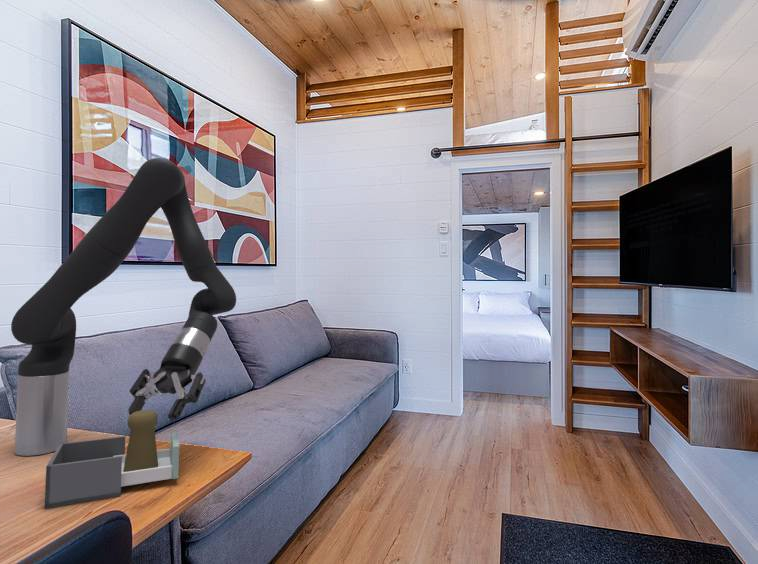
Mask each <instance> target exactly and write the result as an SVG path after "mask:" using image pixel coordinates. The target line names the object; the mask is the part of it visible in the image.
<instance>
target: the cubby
mask: <svg viewBox="0 0 758 564" xmlns="http://www.w3.org/2000/svg"><path fill="white" fill-rule="evenodd" d="M124 454H126V435H123V436H121V435H120V436H113V437H105V438H95V439H88V440H85V439H84V440H77V441H71V442H69V441H67V442H66V443H60V444H59V446H58V448H57V449H56V451H54V453H53V455H52V457H50V459H49V461H48V463H47V465H46V467H45V468H46V469H45V487H44V490H45V491H44V510H46V509H54V508H59V507H66V506H71V505H78V504H82V503H88V502H95V501H99V500H108V499H112V498H118V497H121V493H122V487H123V486H122V487H121V471H122V456H116V455H124ZM113 456H115V457H113Z"/></svg>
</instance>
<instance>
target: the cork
mask: <svg viewBox="0 0 758 564" xmlns="http://www.w3.org/2000/svg"><path fill="white" fill-rule="evenodd" d="M158 420H159V419H158V413H157V412H156V411H154V410H153V409H141V411H136V412H134V413H132V414H131V415H129V416H128V418H127V427H128V429H129V430H130V431H129V437H128V442H127V448H126V452H125V454H126V458H125V464H124V469H123V472H129V471H135V470H142V469H149V468H156V467H158V458H157V450H158V449H157V441H156V432H155V431H156V429H155V427H156V426H157V424H158Z"/></svg>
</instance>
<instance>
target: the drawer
mask: <svg viewBox="0 0 758 564" xmlns="http://www.w3.org/2000/svg"><path fill="white" fill-rule="evenodd" d="M177 431H178V430H177V429H171V432H170V448H164V449H157V458H158V467H156V468H149V469H142V470H135V471H129V472H123V469H124V464H125V458H126V453H125V454H124V455H116V456H122V471H121V487H127V486H135V485H139V484H145V483H152V482H158V481H163V480H164V481H165V480H174V479H179V466H180V465H179V464H180V442H179V437H178V432H177ZM113 457H115V456H113Z"/></svg>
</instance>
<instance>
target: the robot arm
mask: <svg viewBox="0 0 758 564" xmlns="http://www.w3.org/2000/svg"><path fill="white" fill-rule="evenodd" d="M185 179H186V178H185V174H184V173H183V171H182V170H181V168H180V167H179V166H178V165H177V164H176V163H174V161H171V160H170V159H167V158H164V157H155V158H154V157H153V158H151V159H148V160H147V161H145V162H144V163H142V165H141V166H140V167H139V168H138V170H137V172H136V174H135V175H134V177H133V178H132V179H131V181H130V182H129V184H128V186H127V188H126V189H125V190H124V192H123V193H122V195H121V196H120V198H118V200H117V201H116V202H115V203H114V204H113V205H112V206H111V207H110V208H109V209H108V210H107V211H106V212H105V213H104V215H102V216H101V218H99V220H98V221H97V222H96V223H95V224H94V225H93V226H92V227H91V228H90V229H89V231H87V233H86V234H85V235H84V237H82V239H81V240H80V241H79V242H78V244H77V245H76V246H75V248H73V250H72V251H71V253H70V254H69V255H68V257H67V258H66V259H65V260H64V261H63V262H62V264H61V265H60V266H59V267H58V268H57V270H55V272H54V274H53V275H51V277H50V278H49V279H48V280H47V281H46V283H44V284H43V285H42V286H41V287H40V288H39V289H38V290H37V291H36V292H35V293H34V294H33V295H32V296H31V297H30V298H29V299H28V300H27V301H25V303H24V304H23V305H22V306H21V307H19V309H18V310H17V311H16V312H15V314H14V315H13V317H12V321H11V324H10V329H11V334H12V335H13V338H14V339H15V341H16V340H17V342H19V343H21V344H25V345H31V348H30V351H29V352H28V354H27V355H26V356H25V357H24V358H23V359H22V360H21V361H20V362H19V363H18V368H17V370H18V371H17V393H16V414H15V415H16V416H15V432H14V433H15V434H14V437H15V438H14V454H15V455H17V456H21V457H23V456H26V457H27V456H28V457H29V456H38V455H45V454H49V453H53V452H55V451H56V449H57V448H58V446H59V444H60V443H67V442H68V425H69V423H68V420H69V380H70V379H69V378H70V364H71V362H72V360H73V358H74V355H75V354H74V353H75V346H76V336H77V318H76V314H75V313H74V310H72V307H73V306H74V305H75V303H76V302H77V301H78V300H79V299H80V298H81V297H83V296H84V295H85V294H87V293H88V292H89V291H91V290H92V289H94V288H95V287H96V286H99V284H101V283H102V282H104V281H105V280H106V279H108V278H109V277H110V276H111V275H112V274H114V272H115V271H116V270H117V269H119V267H120V266H121V265H122V263H123V261H125V259H126V258H127V257H128V255H130V253H131V252H132V250H133V249H134V247H135V246H136V244H137V243H138V240H139V238H140V237H141V234H142V233H143V230H144V229H145V227H146V225H147V223H148V222H149V220H150V219H151V218H152V217H153V216H154V215H155V214H156V213H157V212H158V210H160V209H161V210H162V212H163V214H164V216H165V218H166V220H167V223H168V225H169V228H170V231H171V234H172V237H173V241H174V244H175V247H176V250H177V253H178V256H179V259H180V261H181V263H182V265H183V267H184V270H185V272H186V274H187V276H188V278H189V280H190V281H192V282H194V283H195V282H196V283H203V284H204V285H205V286H206V288H203V289H200V290H198V291H197V293H196V294H195V295H194V296H193V298H192V299H191V302H190V303H191V304H190V307H189V311H188V317H187V320H186V321H185V323H184V324H183V326H182V328H181V330H180V331H179V332H178V334H177V335H176V336H175V337H174V340H173V341H172V343H171V345H170V346H169V348H168V350H167V351H166V353H165V354H164V356H163V358H162V360H161V362H160V367H159V369H157V370H156V371H155V372H152V371H150V370H149V369H148V368H145V369H143V370H141V372H140V374H139V376H138V377H137V379H136V380H135V382H134V383H133V384H132V385H131V388H130V389H129V390H128V391H129V393H130V394H131V396H132V397H133V398H134V399H133V401H132V402H131V405H130V406H129V407H128V415H129V416H130V415H131V414H132V413H134V412H136V411H141V410H143V407H144V406H145V404H146V402H147V401H148V400H149V399H151V398H152V397H156V396H158V395H159V394H168V393H169V394H172V395H175V394H176V395H177V399H175V401H174V402H173V404H172V406H171V408H170V411H169V413H168V414H167V418H168V419H169V420H170V421H171V422H175V421H177V419H179V418H180V417H181V416H182V413H183V411H184V409H185V407H186V406H187V405H188V404H190V403H193V404H196V403H197V402H198V400H199V398H200V396H201V393H202V390H203V388H204V386H205V384H206V380H207V379H206V378H205V376H204V375H203V373H202V372H201V371H198V370H199V367H200V365H201V364H202V362H203V359H204V357H205V356H206V353H207V351H208V349H209V345H210V343H211V341H212V339H213V337H214V336H215V333H216V331H217V328H218V320H217V319H216V317H215V315H219V314H223V313H227V312H230V311H233V309H234V308H235V307H236V304H237V295H236V291H235V289H234V287H233V286H232V285H231V283H230V282H229V281H228V279H227V278H226V277H225V275H223V273H222V272H221V271H220V269H219V268H218V266H217V264H216V262H215V259H214V257H213V255H212V253H211V250H210V248H209V246H208V243H207V241H206V240H205V237H204V235H203V232H202V230H201V229H200V226H199V224H198V222H197V220H196V217H195V214H194V212H193V210H192V207H191V203H190V200H189V195H188V190H187V186H186V181H185ZM191 383H192V384H191ZM190 384H191V386H190V388H189V391H188V392H187V390H186V387H187V386H188V385H190ZM154 386H155V389H153V387H154Z"/></svg>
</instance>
